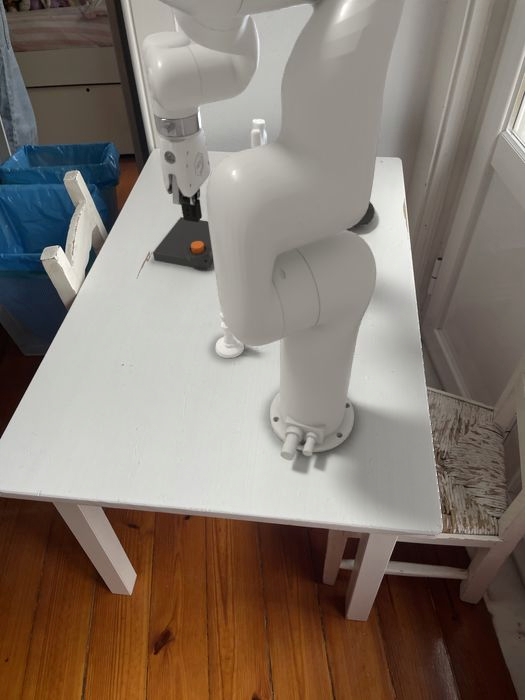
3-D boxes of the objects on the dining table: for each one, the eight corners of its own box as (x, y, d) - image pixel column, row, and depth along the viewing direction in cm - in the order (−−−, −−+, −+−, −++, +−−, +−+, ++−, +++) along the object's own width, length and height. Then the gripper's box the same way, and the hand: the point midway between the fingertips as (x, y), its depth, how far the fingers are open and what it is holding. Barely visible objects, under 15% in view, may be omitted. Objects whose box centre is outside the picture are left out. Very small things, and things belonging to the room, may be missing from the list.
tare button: (201, 254, 97) (200, 249, 96) (189, 252, 98) (188, 247, 97) (206, 247, 99) (205, 241, 98) (194, 245, 99) (193, 240, 98)
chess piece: (212, 341, 85) (206, 298, 78) (239, 334, 86) (235, 291, 78) (219, 361, 82) (213, 318, 74) (247, 354, 83) (244, 310, 75)
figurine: (277, 172, 126) (276, 112, 115) (271, 190, 120) (270, 129, 109) (249, 171, 127) (246, 111, 116) (243, 189, 121) (239, 128, 110)
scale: (207, 272, 98) (205, 258, 96) (152, 263, 101) (149, 249, 98) (232, 233, 108) (231, 219, 105) (182, 225, 110) (179, 211, 108)
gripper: (180, 144, 74) (195, 244, 88) (216, 106, 84) (224, 201, 97) (136, 138, 76) (158, 237, 89) (176, 102, 85) (190, 196, 99)
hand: (192, 218), depth 93 cm, fingers closed
